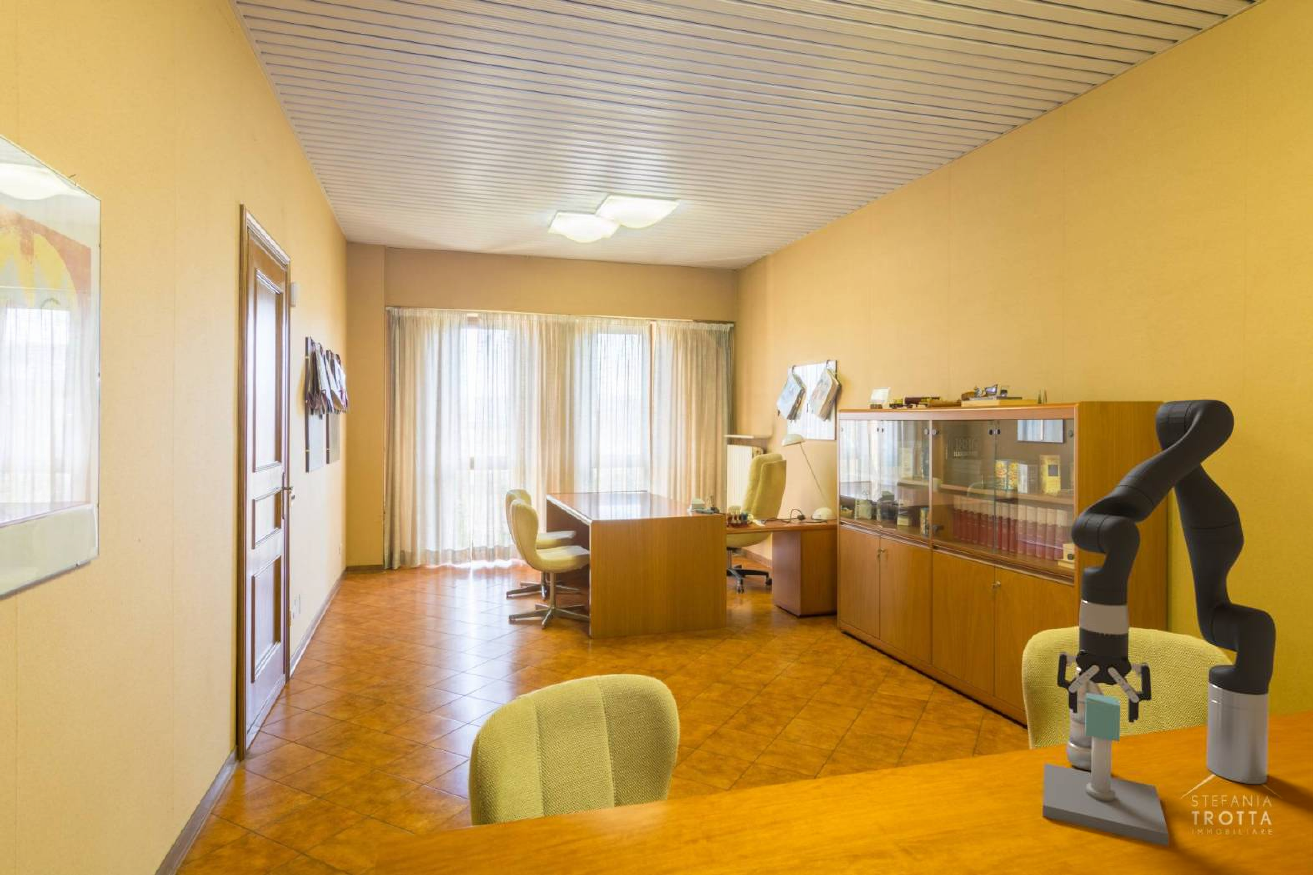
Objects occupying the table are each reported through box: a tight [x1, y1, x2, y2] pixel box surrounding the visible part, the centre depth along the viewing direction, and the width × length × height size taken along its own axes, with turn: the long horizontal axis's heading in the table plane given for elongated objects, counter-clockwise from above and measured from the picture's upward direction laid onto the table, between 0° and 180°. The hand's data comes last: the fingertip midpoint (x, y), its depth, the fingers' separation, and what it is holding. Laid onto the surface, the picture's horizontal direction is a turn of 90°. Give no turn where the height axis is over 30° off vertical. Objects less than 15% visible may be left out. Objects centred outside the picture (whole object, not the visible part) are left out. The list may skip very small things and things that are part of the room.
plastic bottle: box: [1065, 664, 1105, 771], centre depth 144 cm, size 6×7×20 cm
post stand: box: [1042, 737, 1170, 847], centre depth 129 cm, size 18×18×18 cm
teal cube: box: [1085, 693, 1121, 742], centre depth 129 cm, size 5×5×6 cm
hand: (1102, 716), depth 129 cm, fingers open, 8 cm apart
